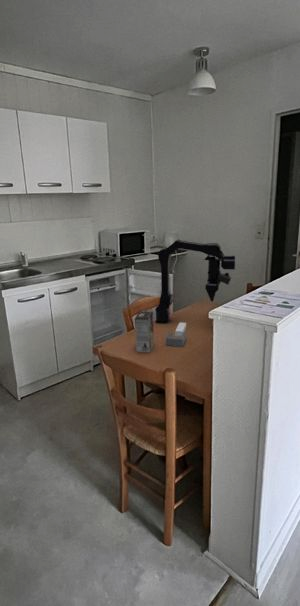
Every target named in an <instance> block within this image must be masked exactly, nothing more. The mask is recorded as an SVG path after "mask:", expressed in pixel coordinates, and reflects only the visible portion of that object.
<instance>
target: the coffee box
mask: <svg viewBox="0 0 300 606" xmlns="http://www.w3.org/2000/svg"><path fill="white" fill-rule="evenodd" d="M134 324H135V341H136V342H135V343H136V344H135V345H136V347H135V348H136V352H137V353H138V352H139V353H140V352H141V353H151V351H152V349H153V347H154V345H155V339H154V338H155V336H154V335H155V334H154V333H155V332H154V313H153V311H139V312H138V314H137V315H136V316H135V318H134Z"/></svg>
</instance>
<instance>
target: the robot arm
mask: <svg viewBox="0 0 300 606" xmlns="http://www.w3.org/2000/svg"><path fill="white" fill-rule="evenodd" d="M178 249H181V250H187V251H194V252H200V253H203V254H205V255H207V256H206V257H205V258H204V260H205V261H208V263H207V264H208V267H207V268H208V270H207V281H206V282H207V283H206V284H205V291H206V293H207V295H208V298H209V300H210V302H214V299H215V296H216V292H218V291H219V288H220V284H221V283H223V284H225V285H229V284H230V282H231V280H232V277H231V276H230V273H229V272H225V273H222V272H221V269H222V270H236V255H225V254H224V252H223V251H222V247H221V245H220V244H219V243H218V242H211V243H210V242H207V243H202V242H201V243H200V242H195V241H194V242H193V241H187V240H181V239H176V240H175V241H174V242H173V243H172V244H170V245H169V246H168V247H163V248H162V249H160V250H159V251H158V253H157V256H158V262H159V264H160V274H161V275H160V276H161V277H160V278H161V279H160V280H161V283H160V284H161V287H160V288H161V293H160V297H159V303H158V305H157V306H156V307H155V309H154V310H155V311H154V312H155V316H156V317H155V323H156V324H168V323H169V321H170V319H171V318H170V317H171V316H170V315H171V314H170V312H169V308H170V307H171V306H172V304H173V302H174V299H173V298H174V294H173V293H172V294H171V291H170V264H171V259H172V254H173V253H174V252H175V251H177V250H178Z"/></svg>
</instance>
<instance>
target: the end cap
mask: <svg viewBox="0 0 300 606" xmlns="http://www.w3.org/2000/svg"><path fill="white" fill-rule="evenodd" d="M186 334H187V332H186V331H185V332H183V334H182V336H181V337H173V331H170V330H169V332H168V334H167V336H166V338H165V345H166V346H172V347H182V348H183V347H184V344H185V342H186V340H187V339H186V337H187V335H186Z"/></svg>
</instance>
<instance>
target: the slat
mask: <svg viewBox="0 0 300 606" xmlns="http://www.w3.org/2000/svg"><path fill="white" fill-rule="evenodd" d="M186 330H187V322H181V321H179V323H178V324H177V326H176V329H175V331H174V333H175V334H174V335H175V337H179V338H181V336H182V334H183V332H186Z"/></svg>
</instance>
